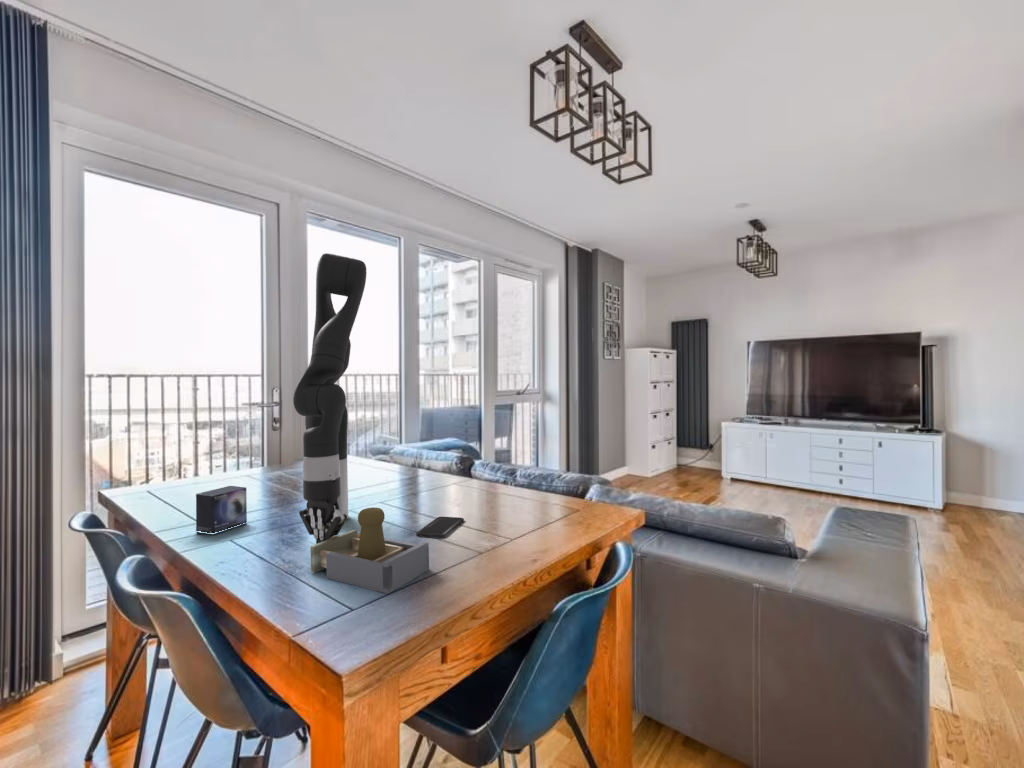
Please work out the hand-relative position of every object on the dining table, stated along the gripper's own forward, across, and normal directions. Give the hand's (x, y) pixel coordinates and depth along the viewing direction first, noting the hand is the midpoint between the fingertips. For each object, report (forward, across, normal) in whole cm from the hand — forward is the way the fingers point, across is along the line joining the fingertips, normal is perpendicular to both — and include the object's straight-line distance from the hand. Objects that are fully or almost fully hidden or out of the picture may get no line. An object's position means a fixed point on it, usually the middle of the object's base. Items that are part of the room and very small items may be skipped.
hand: (323, 555), depth 101 cm
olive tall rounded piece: (0, +14, 0) cm, 14 cm away
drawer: (+1, +11, 0) cm, 11 cm away
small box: (+2, -44, +4) cm, 45 cm away
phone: (+2, +9, +29) cm, 31 cm away
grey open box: (+1, +16, 0) cm, 16 cm away
